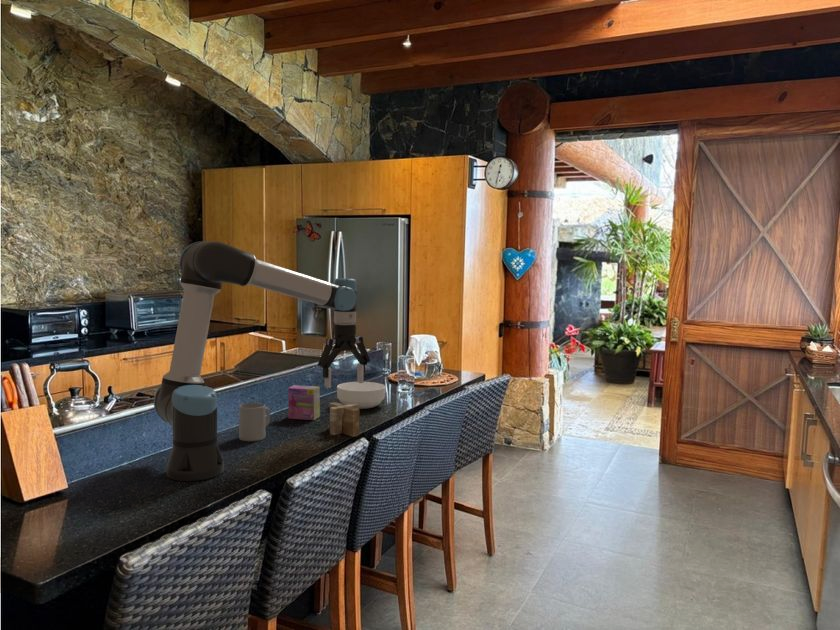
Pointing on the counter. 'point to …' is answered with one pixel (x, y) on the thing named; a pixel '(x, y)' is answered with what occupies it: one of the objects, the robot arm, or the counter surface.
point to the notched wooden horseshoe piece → (338, 418)
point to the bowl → (361, 394)
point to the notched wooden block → (349, 420)
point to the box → (304, 402)
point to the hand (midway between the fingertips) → (344, 385)
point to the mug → (253, 421)
